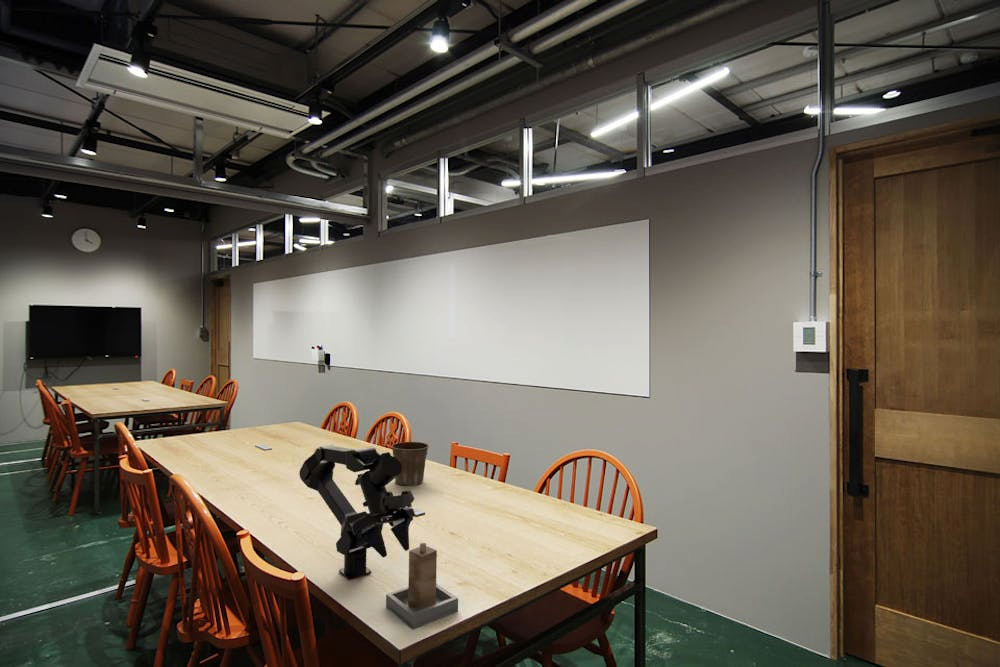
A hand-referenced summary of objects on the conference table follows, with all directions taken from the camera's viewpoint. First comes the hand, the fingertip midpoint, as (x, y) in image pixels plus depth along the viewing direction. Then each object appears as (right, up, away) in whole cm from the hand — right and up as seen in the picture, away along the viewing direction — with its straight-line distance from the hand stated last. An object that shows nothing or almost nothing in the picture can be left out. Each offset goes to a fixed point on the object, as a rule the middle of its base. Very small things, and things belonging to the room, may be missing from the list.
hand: (396, 553), depth 125 cm
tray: (+7, -10, -7) cm, 14 cm away
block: (+7, -9, -7) cm, 13 cm away
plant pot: (-14, -12, +99) cm, 100 cm away
